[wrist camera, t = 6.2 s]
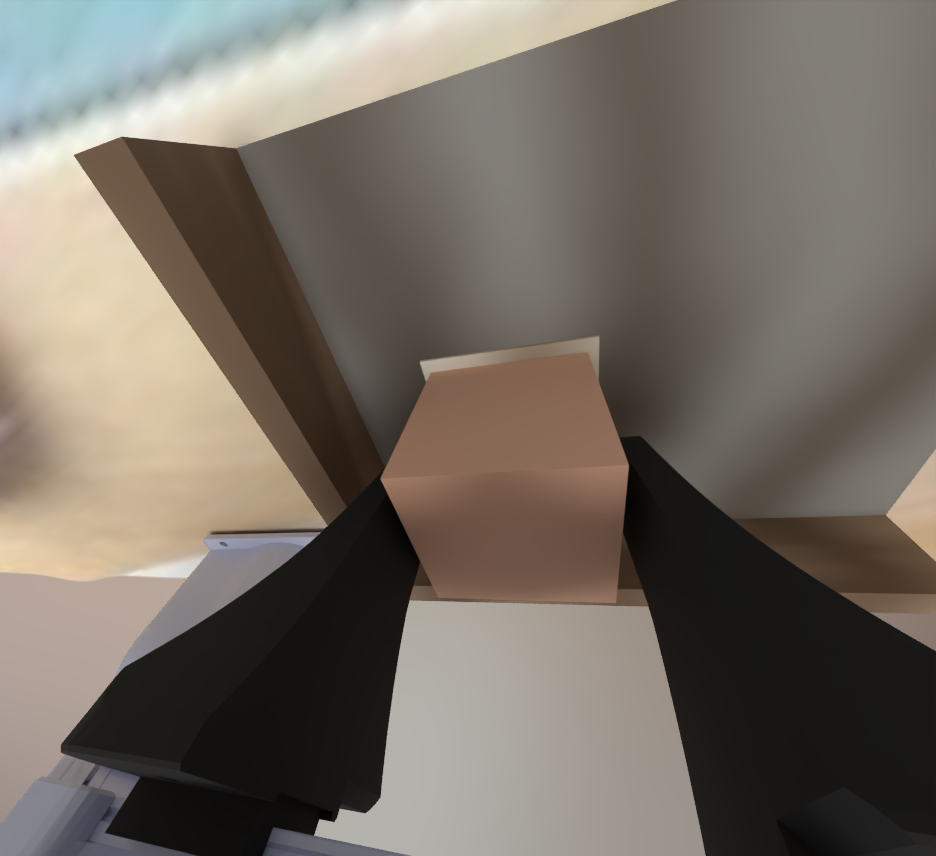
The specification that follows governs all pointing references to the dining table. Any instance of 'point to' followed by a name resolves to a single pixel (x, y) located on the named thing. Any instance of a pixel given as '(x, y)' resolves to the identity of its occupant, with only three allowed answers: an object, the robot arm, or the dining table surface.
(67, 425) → the dining table surface
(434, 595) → the tray
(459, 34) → the dining table surface
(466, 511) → the cube
